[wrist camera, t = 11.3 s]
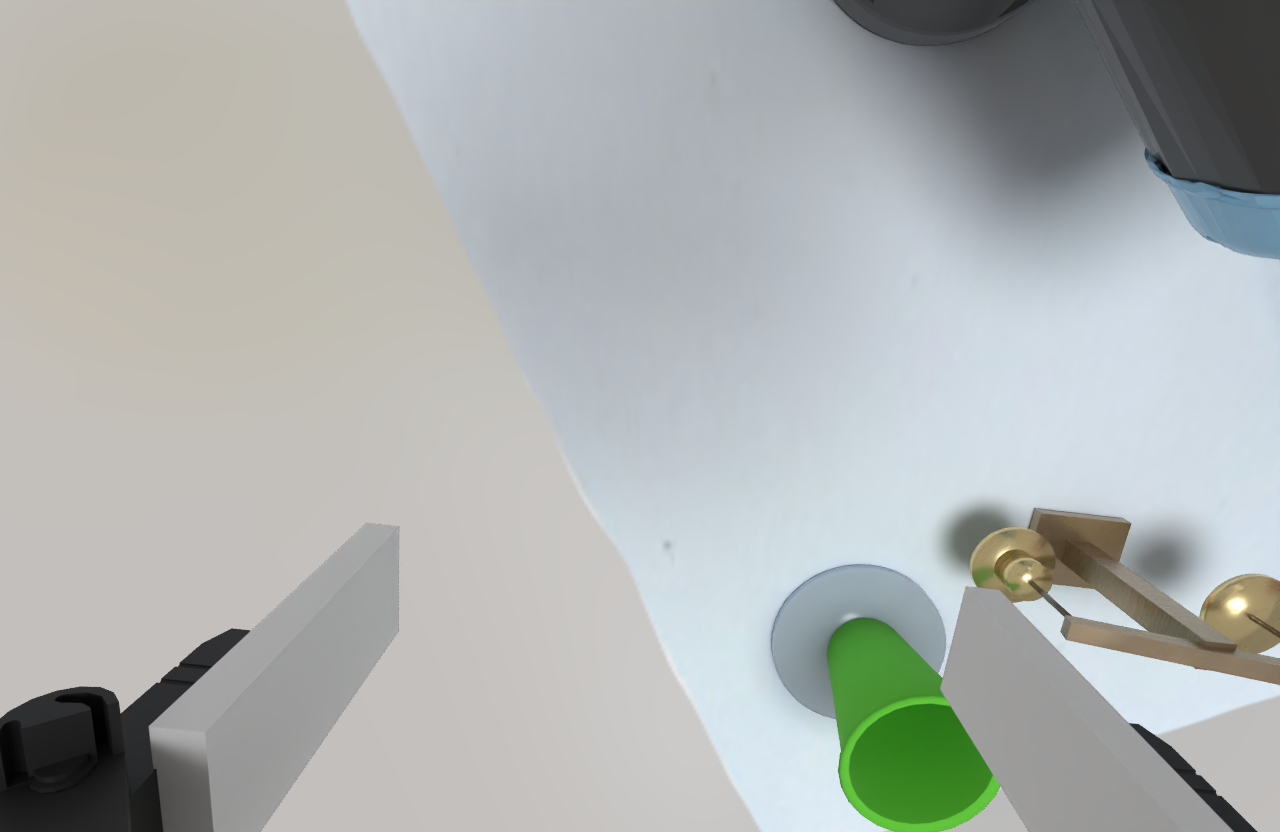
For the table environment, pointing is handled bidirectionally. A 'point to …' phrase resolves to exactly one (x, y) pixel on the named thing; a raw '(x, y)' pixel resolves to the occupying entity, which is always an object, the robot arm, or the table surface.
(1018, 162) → the table surface
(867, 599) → the dish
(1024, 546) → the balance
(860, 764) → the cup
